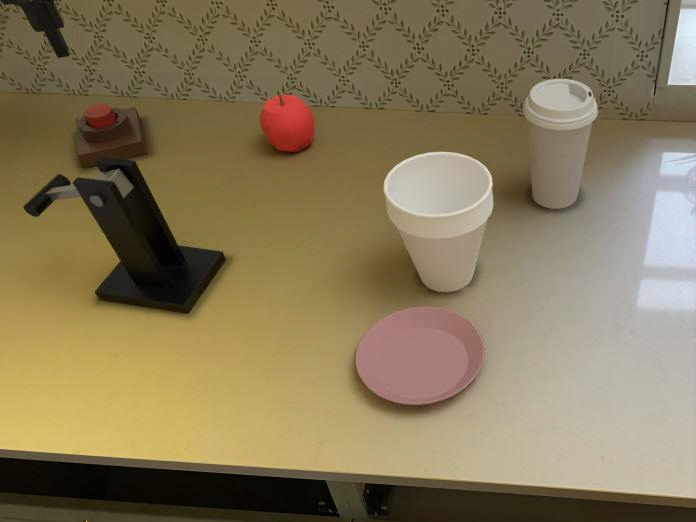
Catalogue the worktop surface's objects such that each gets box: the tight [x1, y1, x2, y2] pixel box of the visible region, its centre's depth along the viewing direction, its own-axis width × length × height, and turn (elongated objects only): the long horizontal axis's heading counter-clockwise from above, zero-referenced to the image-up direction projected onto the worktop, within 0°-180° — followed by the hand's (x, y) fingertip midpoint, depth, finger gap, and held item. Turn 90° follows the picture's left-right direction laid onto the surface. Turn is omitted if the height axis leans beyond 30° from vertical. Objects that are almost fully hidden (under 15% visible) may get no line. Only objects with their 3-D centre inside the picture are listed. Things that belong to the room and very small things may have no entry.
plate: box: [355, 306, 486, 406], centre depth 73 cm, size 14×14×2 cm
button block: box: [74, 106, 149, 169], centre depth 100 cm, size 11×9×4 cm
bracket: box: [72, 156, 227, 314], centre depth 76 cm, size 12×10×16 cm
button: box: [83, 103, 117, 127], centre depth 98 cm, size 4×4×2 cm
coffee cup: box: [522, 78, 599, 210], centre depth 87 cm, size 10×10×15 cm
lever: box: [23, 169, 134, 218], centre depth 73 cm, size 12×6×2 cm, turn 78°
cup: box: [383, 151, 494, 293], centre depth 78 cm, size 12×12×14 cm
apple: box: [259, 94, 315, 153], centre depth 98 cm, size 8×8×8 cm
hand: (63, 52), depth 91 cm, fingers closed
